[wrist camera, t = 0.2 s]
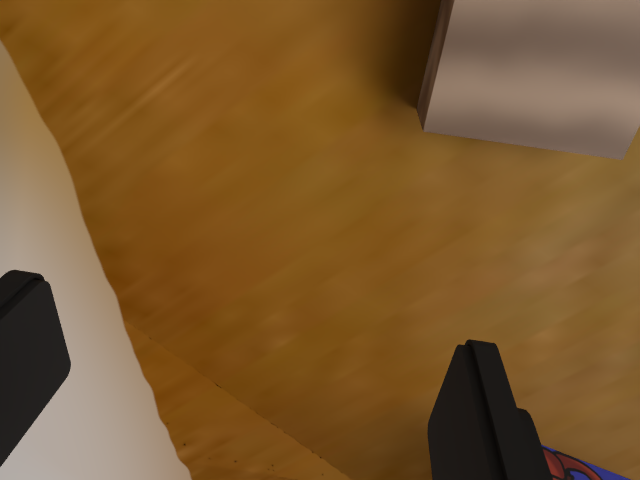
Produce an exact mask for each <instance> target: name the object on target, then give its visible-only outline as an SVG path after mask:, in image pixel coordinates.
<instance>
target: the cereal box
mask: <svg viewBox="0 0 640 480" xmlns="http://www.w3.org/2000/svg"><path fill="white" fill-rule="evenodd" d="M541 446H542V448H543V451H544V454H545V457H546V460H547V463H548V466H549V469H550V472H551V474H552V477H553V480H630V479H628V478H625V477H622V476H620V475H617V474H615V473H612V472H610V471H607V470H605V469H602V468H599V467H597V466H594V465H592V464H589V463H587V462H584V461H582V460H579V459H576V458H574V457H571V456H569V455H566V454H564V453H561V452H559V451H556V450H553V449H551V448H548V447H546V446H543V445H541Z"/></svg>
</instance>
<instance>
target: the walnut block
mask: <svg viewBox="0 0 640 480" xmlns="http://www.w3.org/2000/svg"><path fill="white" fill-rule="evenodd" d="M417 112H418V116H419V119H420V123H421V126H422V129H423V131H424V132H431V133H438V134H445V135H452V136H459V137H466V138H473V139H480V140H487V141H494V142H501V143H508V144H515V145H522V146H529V147H536V148H543V149H550V150H557V151H564V152H571V153H578V154H585V155H592V156H599V157H606V158H613V159H620V160H623V158H624V156H625V154H626V152H627V150H628V148H629V146H630V144H631V142H632V140H633V138H634V136H635V134H636V132H637V130H638V128H639V126H640V0H441V4H440V8H439V13H438V17H437V22H436V26H435V30H434V35H433V39H432V44H431V48H430V52H429V57H428V61H427V66H426V70H425V75H424V79H423V83H422V88H421V92H420V97H419V101H418V105H417Z"/></svg>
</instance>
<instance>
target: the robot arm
mask: <svg viewBox="0 0 640 480" xmlns="http://www.w3.org/2000/svg"><path fill="white" fill-rule="evenodd" d="M70 367H71V362H70V358H69V354H68V350H67V347H66V343H65V339H64V336H63V331H62V328H61V324H60V320H59V316H58V313H57V309H56V306H55V302H54V298H53V294H52V290H51V286H50V284H49V283H48V282H47V281H45V280H44V277H43V276H42V275H41V274H37V273H31V272H25V271H19V270H11V271H9V272H7V273H6V274H4V275H3V276H2V277H1V278H0V467H1V466H2V464H3V463H4V462H5V460H6V459H7V457H8V456H9V455H10V453H11V452H12V451H13V449H14V448H15V447H16V445H17V444H18V443H19V441H20V440H21V439H22V437H23V436H24V435H25V433H26V432H27V430H28V429H29V428H30V426H31V425H32V424H33V422H34V421H35V420H36V418H37V417H38V416H39V414H40V413H41V412H42V410H43V409H44V408H45V406H46V405H47V403H48V402H49V401H50V399H51V398H52V397H53V395H54V394H55V393H56V391H57V390H58V389H59V387H60V386H61V385H62V383H63V382H64V381H65V379H66V378H67V376H68V374H69V371H70ZM428 442H429V451H430V460H431V469H432V477H433V480H553V477H552V474H551V472H550V469H549V466H548V463H547V460H546V457H545V454H544V451H543V448H542V446H541V443H540V440H539V437H538V434H537V431H536V428H535V425H534V422H533V420H532V418H531V416H530V414H529V413H528V412H527V411H526V410H524V409H520V408H517V407H516V403H515V400H514V397H513V394H512V391H511V388H510V385H509V382H508V378H507V375H506V372H505V369H504V366H503V363H502V360H501V357H500V353H499V350H498V348H497V346H496V344H495V343H489V342H483V341H476V340H467V341H466V343H465V345H458V346H457V347H456V349H455V352H454V355H453V357H452V360H451V363H450V365H449V368H448V371H447V373H446V376H445V379H444V381H443V384H442V387H441V389H440V392H439V395H438V397H437V400H436V403H435V405H434V408H433V411H432V413H431V416H430V419H429V423H428Z"/></svg>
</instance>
